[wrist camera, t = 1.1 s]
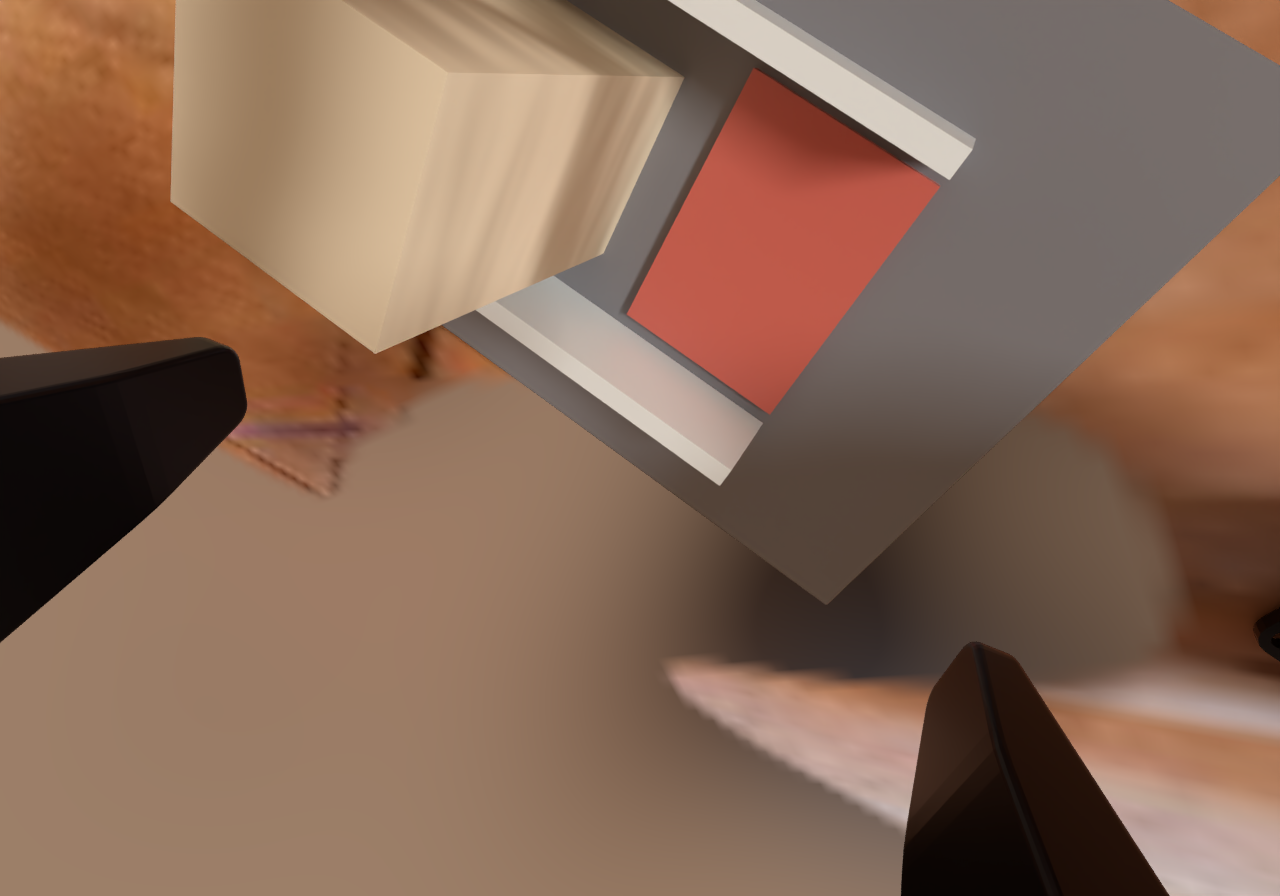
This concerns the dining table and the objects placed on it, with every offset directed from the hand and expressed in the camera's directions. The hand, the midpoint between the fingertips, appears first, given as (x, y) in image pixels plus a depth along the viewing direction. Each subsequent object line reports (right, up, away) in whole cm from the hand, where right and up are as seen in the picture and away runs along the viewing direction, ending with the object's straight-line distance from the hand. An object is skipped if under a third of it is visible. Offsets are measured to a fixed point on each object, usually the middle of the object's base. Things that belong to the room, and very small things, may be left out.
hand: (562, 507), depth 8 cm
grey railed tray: (0, +9, +11) cm, 14 cm away
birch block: (-1, +9, +11) cm, 14 cm away
